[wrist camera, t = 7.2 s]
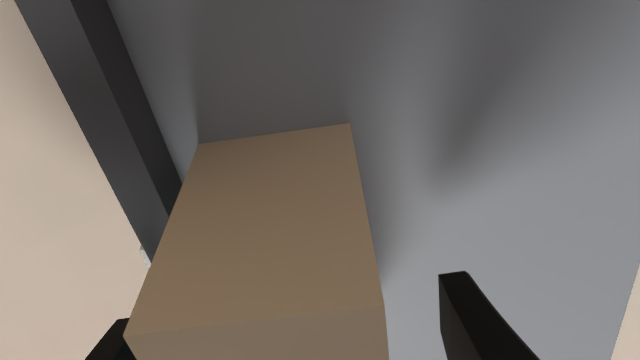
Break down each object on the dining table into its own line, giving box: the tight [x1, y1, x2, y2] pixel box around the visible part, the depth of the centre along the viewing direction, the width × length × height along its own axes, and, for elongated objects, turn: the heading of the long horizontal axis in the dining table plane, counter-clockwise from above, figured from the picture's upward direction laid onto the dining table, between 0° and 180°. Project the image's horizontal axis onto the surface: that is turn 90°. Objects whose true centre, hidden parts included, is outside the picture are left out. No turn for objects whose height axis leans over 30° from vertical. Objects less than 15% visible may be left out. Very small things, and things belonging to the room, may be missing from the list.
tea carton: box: [123, 123, 389, 360], centre depth 11 cm, size 7×4×6 cm, turn 8°
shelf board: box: [15, 0, 640, 360], centre depth 11 cm, size 15×28×2 cm, turn 10°
